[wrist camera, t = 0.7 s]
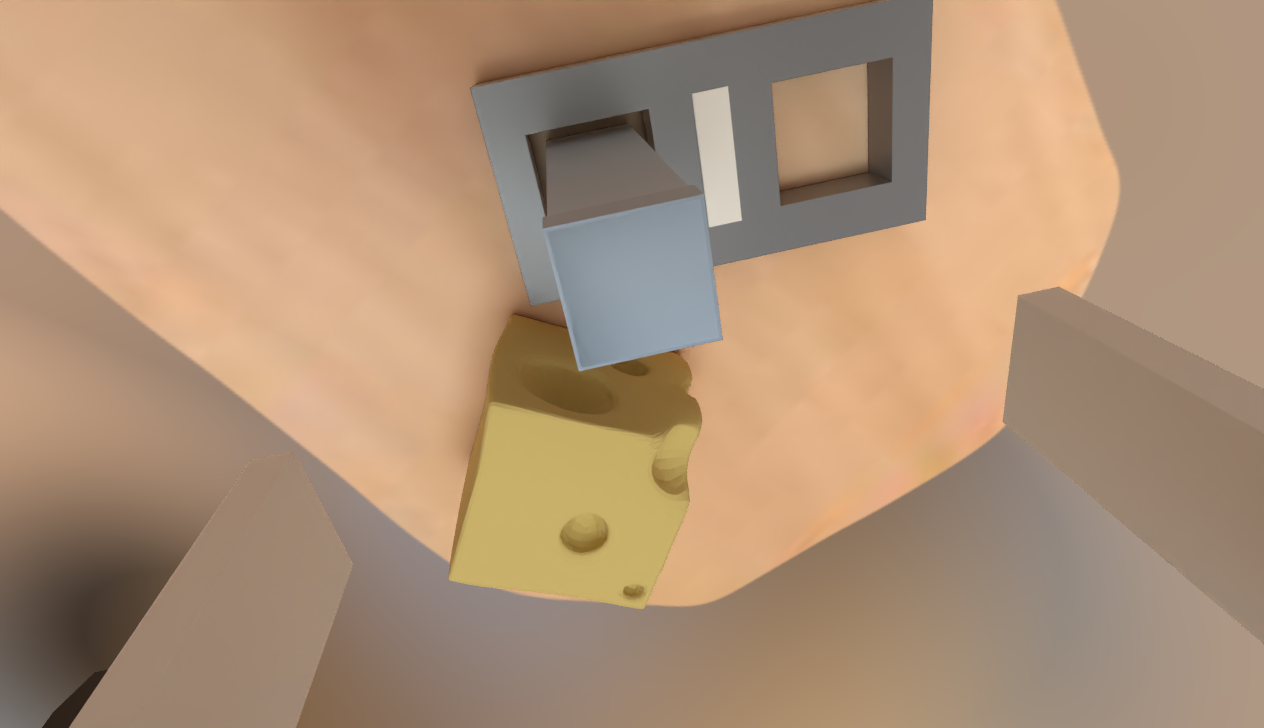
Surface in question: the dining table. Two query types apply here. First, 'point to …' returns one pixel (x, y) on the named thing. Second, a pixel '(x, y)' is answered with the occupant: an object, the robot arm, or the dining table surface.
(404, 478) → the dining table surface
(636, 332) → the plug
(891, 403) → the dining table surface
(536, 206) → the port panel
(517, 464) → the cheese
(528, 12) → the dining table surface
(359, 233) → the dining table surface
